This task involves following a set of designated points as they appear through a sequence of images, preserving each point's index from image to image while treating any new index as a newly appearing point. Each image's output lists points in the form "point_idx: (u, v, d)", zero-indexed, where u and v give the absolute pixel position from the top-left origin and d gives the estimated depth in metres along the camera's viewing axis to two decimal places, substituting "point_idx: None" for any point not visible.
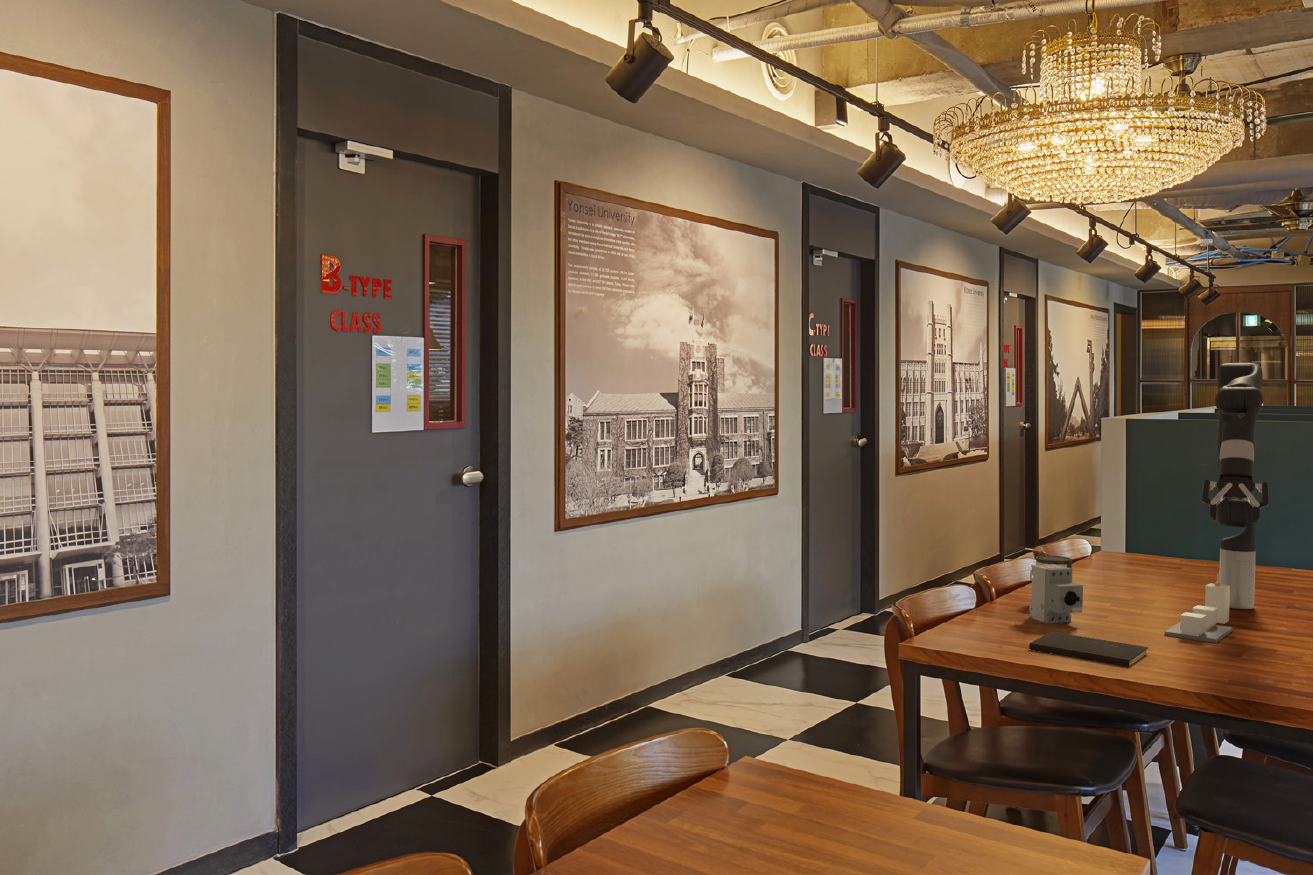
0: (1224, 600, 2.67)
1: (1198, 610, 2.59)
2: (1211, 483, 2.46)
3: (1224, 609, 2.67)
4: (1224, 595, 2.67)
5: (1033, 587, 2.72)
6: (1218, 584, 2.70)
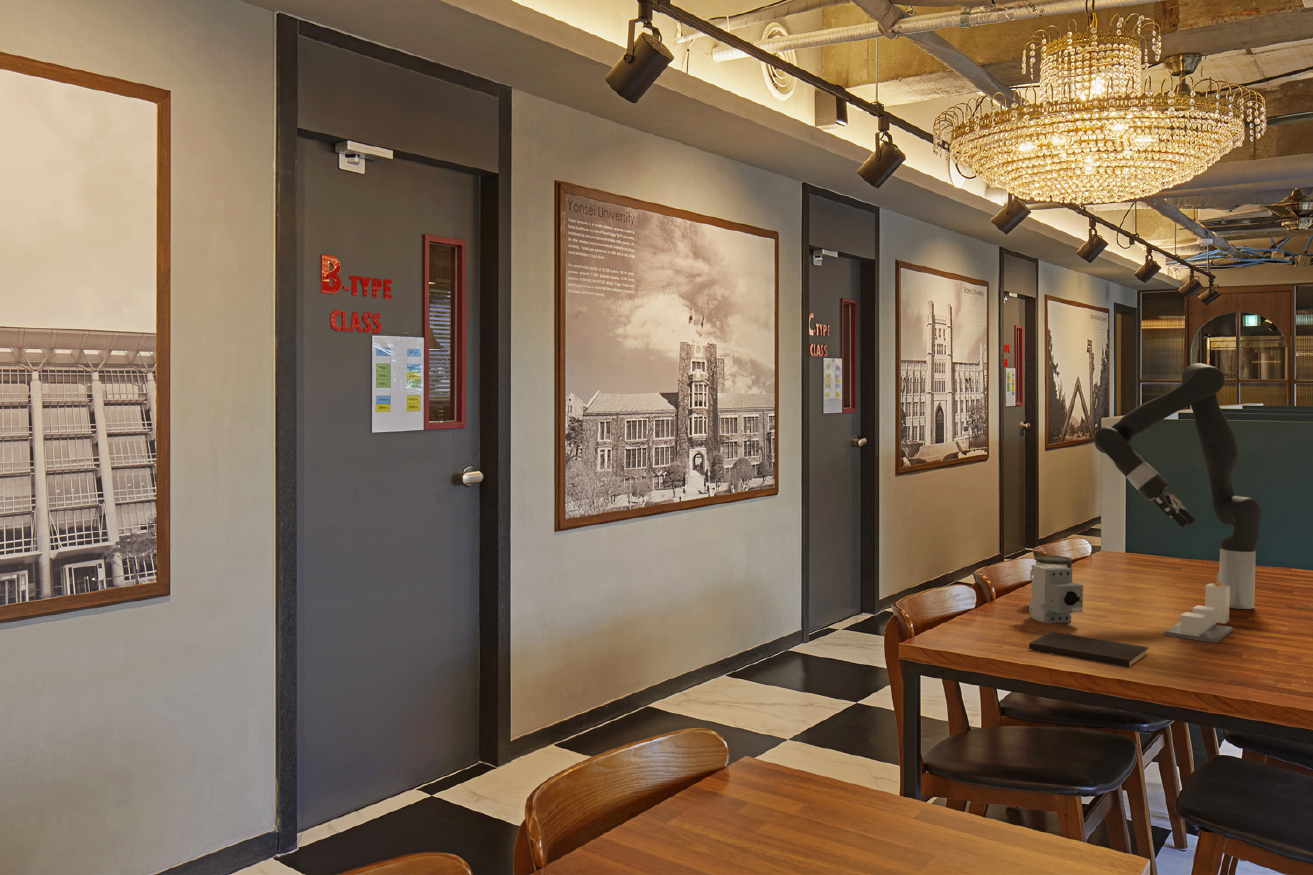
0: (1224, 600, 2.67)
1: (1198, 610, 2.59)
2: None
3: (1224, 609, 2.67)
4: (1224, 595, 2.67)
5: (1033, 587, 2.72)
6: (1218, 584, 2.70)
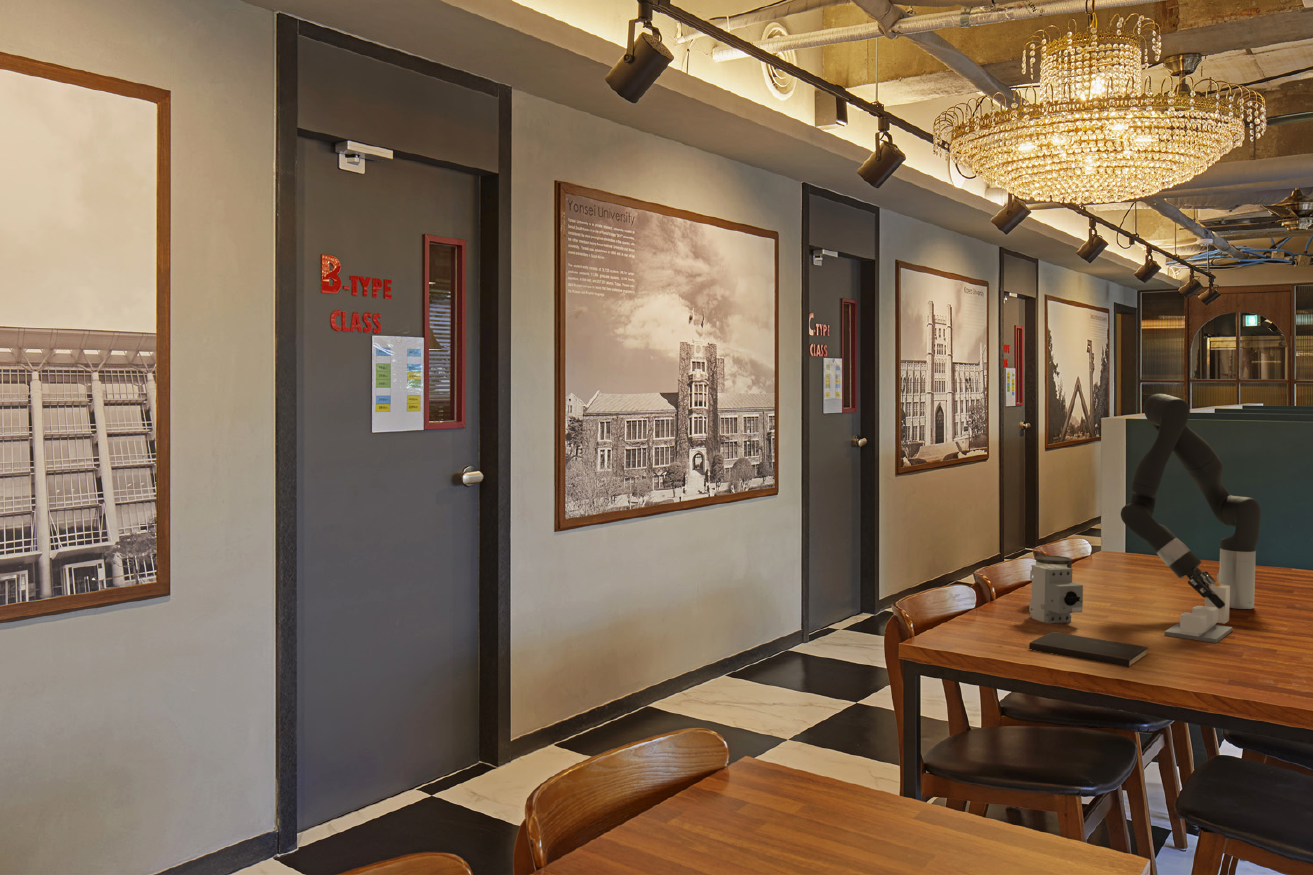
0: (1224, 600, 2.67)
1: (1198, 610, 2.59)
2: None
3: (1224, 609, 2.67)
4: (1224, 595, 2.67)
5: (1033, 587, 2.72)
6: (1218, 584, 2.70)
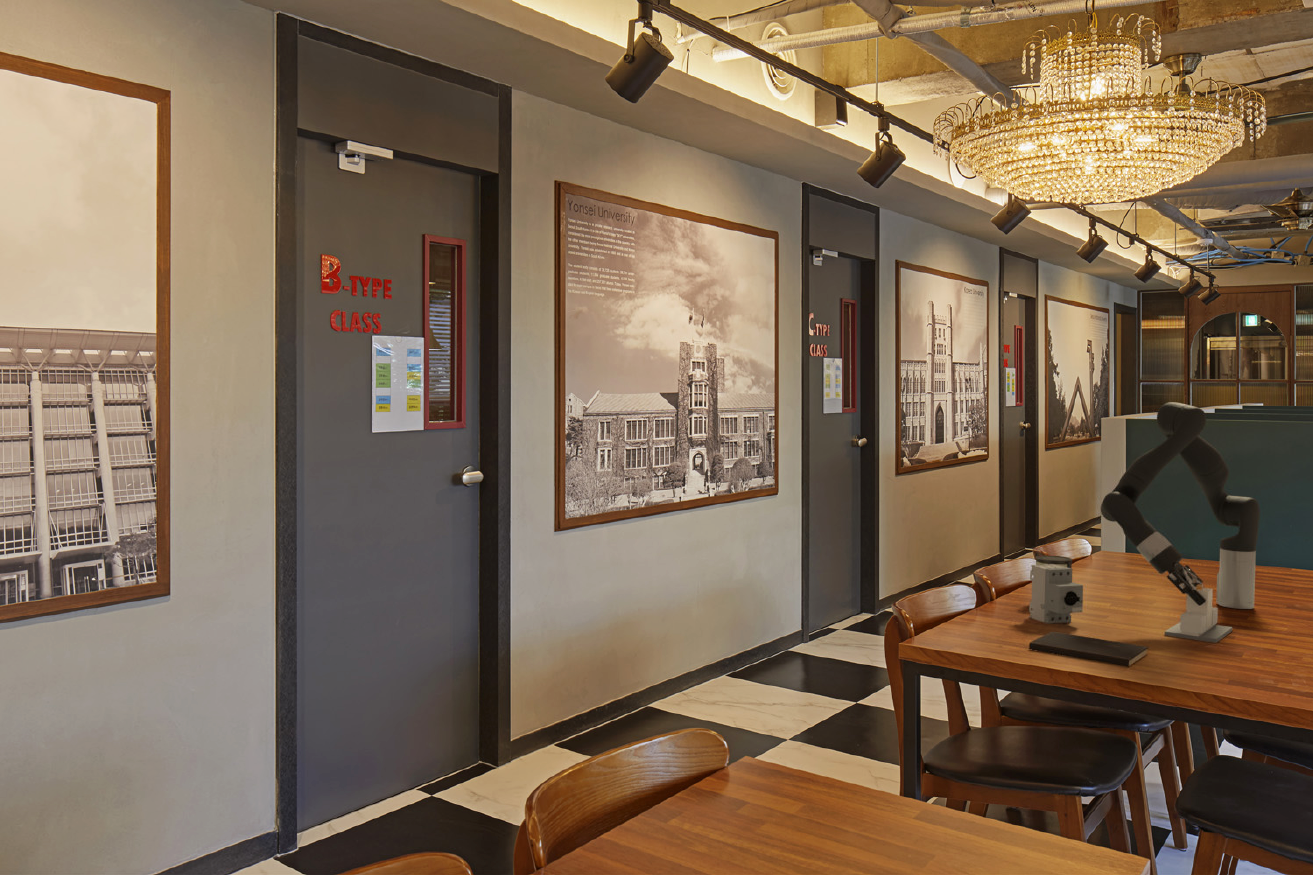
0: (1206, 604, 2.52)
1: None
2: None
3: (1206, 614, 2.52)
4: (1206, 599, 2.52)
5: (1033, 587, 2.72)
6: (1200, 587, 2.55)
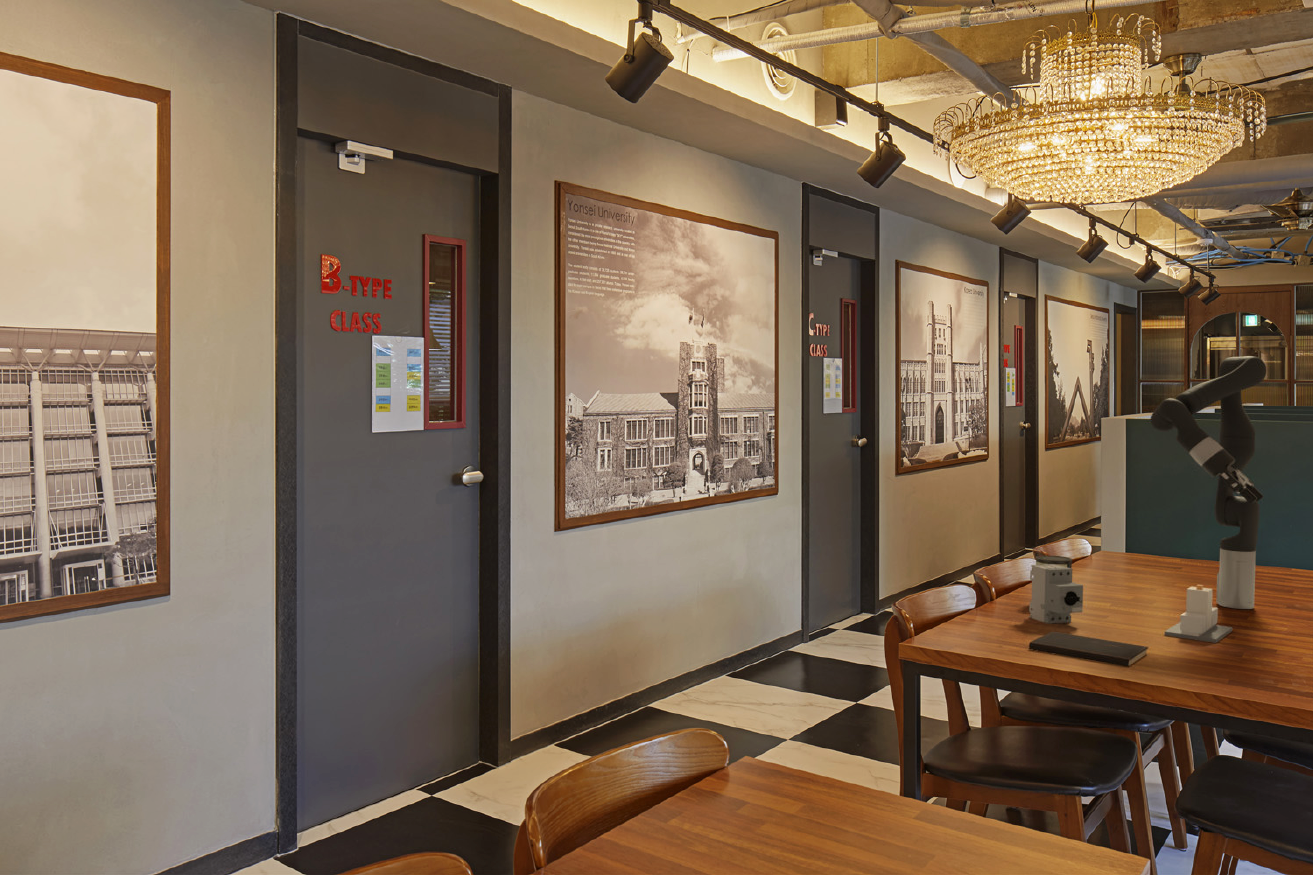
0: (1206, 604, 2.52)
1: None
2: None
3: (1206, 614, 2.53)
4: (1206, 599, 2.52)
5: (1033, 587, 2.72)
6: (1200, 587, 2.55)
